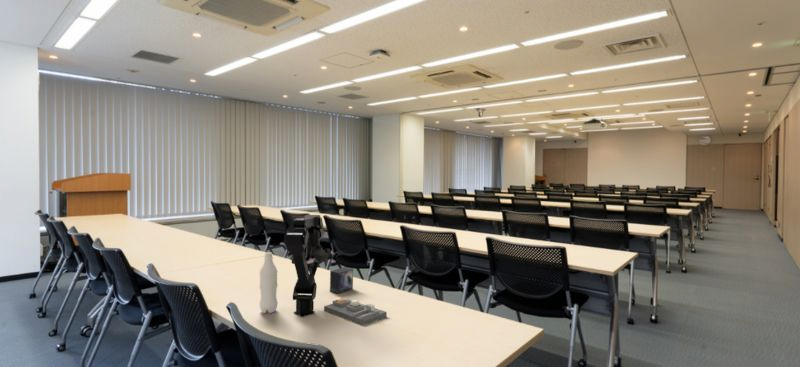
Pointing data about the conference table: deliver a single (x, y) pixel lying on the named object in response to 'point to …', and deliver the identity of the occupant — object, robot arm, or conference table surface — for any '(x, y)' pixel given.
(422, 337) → the conference table surface
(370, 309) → the block
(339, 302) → the orange button
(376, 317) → the control panel
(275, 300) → the water bottle
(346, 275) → the small box
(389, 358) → the conference table surface
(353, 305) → the white button
